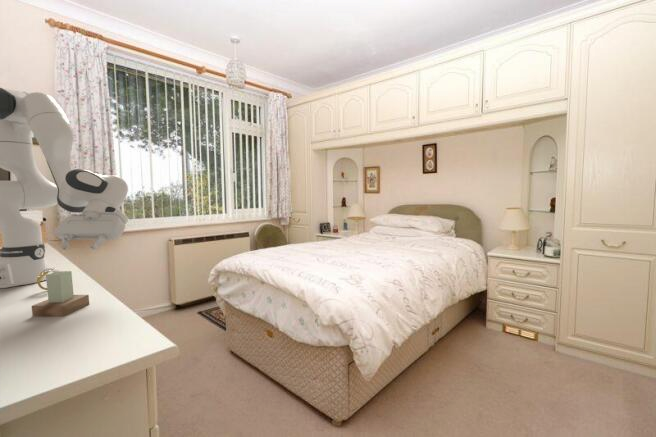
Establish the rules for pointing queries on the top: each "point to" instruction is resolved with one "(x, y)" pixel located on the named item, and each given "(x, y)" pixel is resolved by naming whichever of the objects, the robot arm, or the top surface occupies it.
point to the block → (59, 286)
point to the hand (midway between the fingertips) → (78, 248)
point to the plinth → (60, 306)
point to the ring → (44, 275)
